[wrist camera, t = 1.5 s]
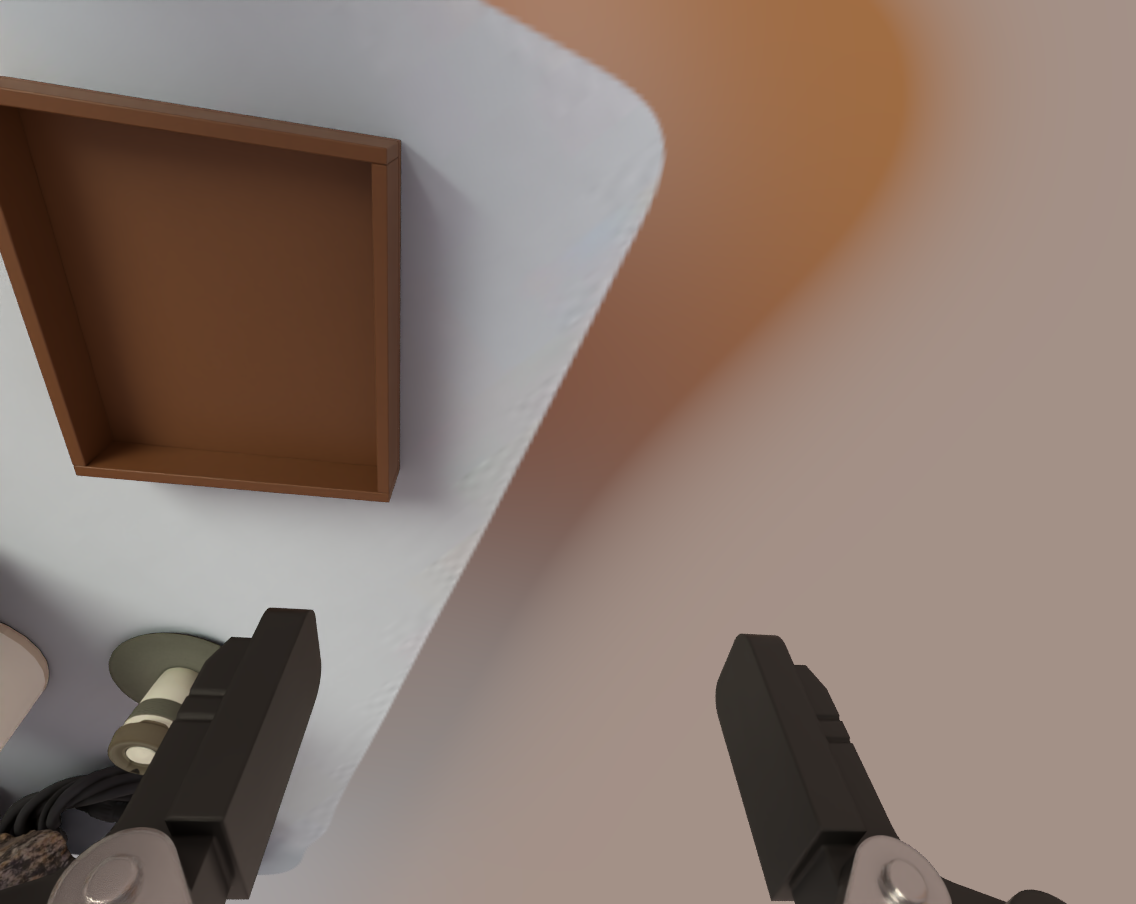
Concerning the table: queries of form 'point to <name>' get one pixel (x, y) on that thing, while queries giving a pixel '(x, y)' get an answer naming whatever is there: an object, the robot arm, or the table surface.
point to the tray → (207, 290)
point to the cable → (72, 801)
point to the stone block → (31, 856)
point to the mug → (18, 679)
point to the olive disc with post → (153, 691)
